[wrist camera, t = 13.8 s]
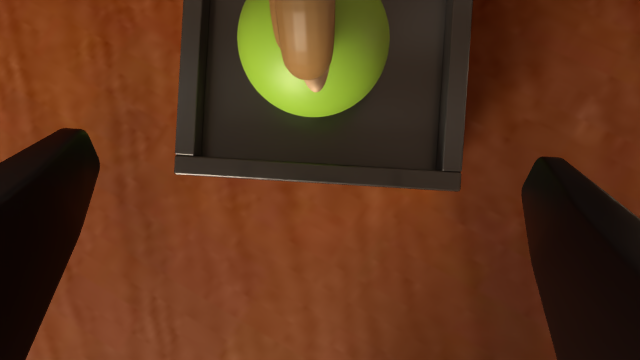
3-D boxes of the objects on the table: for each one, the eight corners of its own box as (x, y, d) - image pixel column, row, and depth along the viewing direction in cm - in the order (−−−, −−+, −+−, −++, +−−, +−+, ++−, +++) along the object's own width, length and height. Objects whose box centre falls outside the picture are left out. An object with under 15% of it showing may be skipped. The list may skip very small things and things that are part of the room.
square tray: (435, 188, 22) (461, 191, 18) (201, 174, 22) (173, 174, 18) (451, -49, 21) (480, -100, 17) (214, -62, 22) (189, -116, 18)
